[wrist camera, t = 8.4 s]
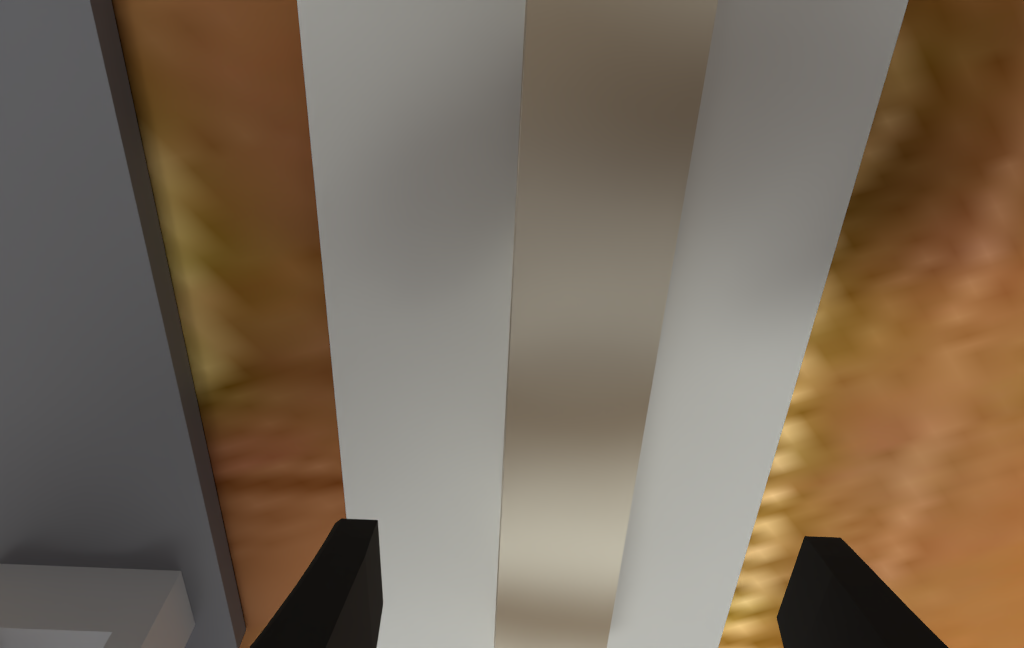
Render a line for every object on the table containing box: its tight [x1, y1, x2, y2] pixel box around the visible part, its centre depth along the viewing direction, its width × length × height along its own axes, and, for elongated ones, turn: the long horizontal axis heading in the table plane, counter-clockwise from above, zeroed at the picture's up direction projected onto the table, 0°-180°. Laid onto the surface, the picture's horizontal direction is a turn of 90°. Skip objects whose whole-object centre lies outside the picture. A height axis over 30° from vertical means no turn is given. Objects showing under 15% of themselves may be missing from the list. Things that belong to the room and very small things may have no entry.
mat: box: [297, 0, 908, 648], centre depth 18 cm, size 28×12×1 cm, turn 177°
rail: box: [494, 0, 718, 648], centre depth 17 cm, size 23×3×3 cm, turn 177°
